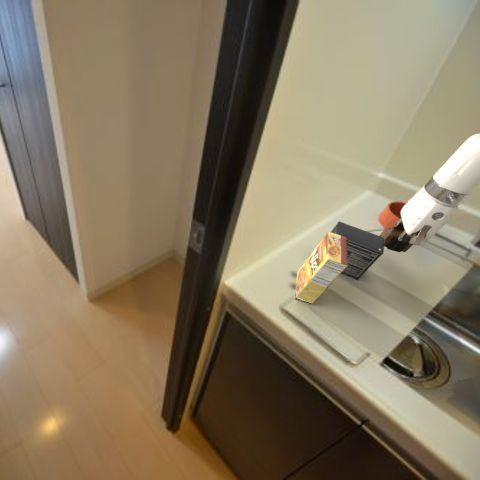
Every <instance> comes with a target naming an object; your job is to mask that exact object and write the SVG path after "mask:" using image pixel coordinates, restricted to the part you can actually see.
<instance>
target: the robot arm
mask: <svg viewBox="0 0 480 480" xmlns="http://www.w3.org/2000/svg"><path fill="white" fill-rule="evenodd" d="M459 146H460V147H458V148H457V149H456V151H455V152H454V153H453V154H452V155H451V156H450V157H449V158H448V159H447V160H446V162H445V163H444V164H443V165H442V166H441V167H440V168H439V169H438V170H437V171H436V172H435V173H434V174H433V175H432V176H431V178H430V179H429V180H428V181H426V183H425V184H424V185H423V186H422V188H420V189H419V190H418V191H417V192H416V193H414V195H413V196H412V197H411V198H410V199H409V200H408V201H407V202H405V203H406V204H405V206H404V207H403V208H402V210H401V216H400V219H399V220H398V221H397V222H396V223H395V227H393V228H394V229H398V230H402V231H403V233H402V234H401V235H400V236H399V237H396V238H395V239H394V240H393V241H392V242H391V243H390V244H389V245H388V246H387V247H386V249H387V250H389V251H393V252H396V253H401V252H402V250H403V249H404V248H405V247H406V246H408V245H409V244H414V245H413V246H420V244H421V242H422V241H423V239H424V240H426V241H428V240H430V239H432V238H433V237H434V236H435V235H436V234H437V233H438V232H439V231H440V230H441V229H442V228H443V227H444V226H445V225H446V224H447V223H448V222H449V221H450V220H451V218H453V216H454V215H455V213H456V212H457V210H458V209H459V206H461V205H462V204H463V203H464V202H465V201H466V200H467V199H468V198H470V197H471V196H472V194H474V193H475V192H476V191H477V190H479V188H480V133H475V134H472V135H471V136H469V137H468V138H467V139H466V140H465V141H464V142H462V144H461V145H459ZM407 234H408V235H412V237H408V236H407Z"/></svg>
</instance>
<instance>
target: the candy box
mask: <svg viewBox="0 0 480 480" xmlns="http://www.w3.org/2000/svg"><path fill="white" fill-rule="evenodd" d="M347 266H348V261H347V238H346V237H344V236H341V235H338V234H334V233H331V231H328V232H327V233H326V234H325V235H324V236H323V238H322V239H321V241H320V242H319V243H318V244H317V246H316V247H315V248H314V250H313V251H312V252H311V253H310V255H309V256H308V258H307V259H306V260H305V261H304V262H303V264H302V266H301V267H300V268H299V269H298V271H297V272H296V280H295V291H296V297H298V298H301V299H303V300H305V301H308V302H311V303H312V304H314V302H315V301H316V300H317V299H319V297H320V296H321V295H322V294H323V293H324V292H325V291H326V290H327V289H328V288H329V286H330V285H331V284H332V283H333V282H334V281H335V280H336V279H337V278H338V277H339V276H340V275H341V274H342V271H343V270H344V269H345V268H346V267H347Z"/></svg>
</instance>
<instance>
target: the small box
mask: <svg viewBox="0 0 480 480" xmlns="http://www.w3.org/2000/svg"><path fill="white" fill-rule="evenodd" d="M330 232H331V233H334V234H338V235H341V236H344V237H346V238H347V261H348V266H347V267H346V268H345V269H344V270H343V271H342V273H341V274H342V275H345V276H348V277H350V278H352V279H355V280H360V279H361V277H362V276H364V274H365V273H366V272H367V271H368V270H369V269H370V268H371V267H372V266H373V265H374V264H375V262H376V261H377V260H378V259H379V258H380V257H381V256H383V254H384V251H385V247H384V241H385V238H384V237H381V236H380V235H378V234H375V233H372V232H369V231H367V230H364V229H361V228H358V227H356V226H353V225H350V224H347V223H345V222H342V221H337V223H336V224H335V226H334V227H333V229H332V230H331V231H330Z"/></svg>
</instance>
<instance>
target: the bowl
mask: <svg viewBox="0 0 480 480" xmlns="http://www.w3.org/2000/svg"><path fill="white" fill-rule="evenodd" d="M406 203H407V202H405V201H399V200H396V201H395V200H393V201H390V202H389V203H388V204H387V205H386V206H385V207H384V208H383V209H382V211H380V213H379V215H378V217H377V219H378V222H379V223H380V224H381V226H383V228H385V229H386V228H387V227H390V228H393V227H395V223H396V222H397V221H398V220H399V219H400V216H401V210H402V208H403V207H404V206H405V204H406Z"/></svg>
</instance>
